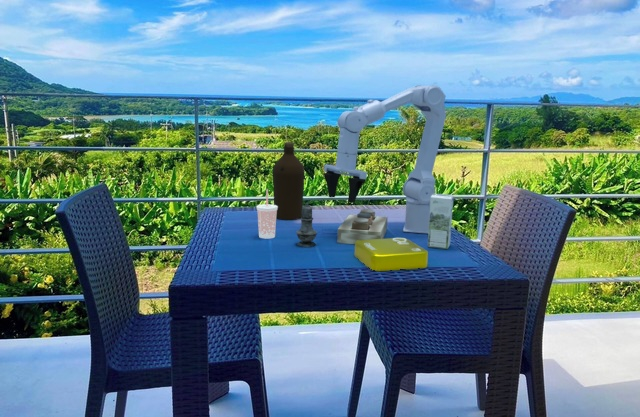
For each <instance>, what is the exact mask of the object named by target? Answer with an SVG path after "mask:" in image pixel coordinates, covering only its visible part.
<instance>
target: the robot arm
mask: <svg viewBox="0 0 640 417" xmlns="http://www.w3.org/2000/svg"><path fill="white" fill-rule="evenodd" d="M445 100H446V94H445V93H444V91H443V90H442V88H441V87H440V86H438V85H435V84H433V85H421V84H419V85H418V84H417V85H414V86H411V87H409V88H406V89H404V90H402V91H400V92H398V93H396V94H394V95H392V96H390V97H387V98H386V99H383V100H382V101H380V100H377V99H368V100H367V101H366V102H367V103H365V104H362V105H360V106H354V107H353V109H352V110H345V111H344V112H342V113H341V114H340V116H339V118H338V119H337V126H338V128H339V136H338V143H337V144H338V146H337V150H336V151H337V152H336V161H335V165H334V164H324V166H323V167H324V168H323V171H324V173H323V177H324V180H325V182H326V183H325V184H326V185H327V186H326V187H327V194H328V198H335V197H336V194H337V190H338V183H339V180H340V177H341V175H343V176H348V178H347V180H348V187H349V188H348V199H347V200H348V203H355V202H356V200H357V198H358V194H359V192H360V190H361V188H362V187H363V185H365V183H366V179H367V176H368V172H367V171H364V170H359V169H356V165H357V160H358V159H357V157H358V150H359V149H358V148H359V142H360V132H362V130H364V128H365V127H367V126H369V125H370V124H373V123H375V122H378V121H379V120H382V119H383V118H384V117H385V115H386V113H387V112H391V110H395V109H397V108H400V107H402V106H405V105H407V104H412V105H413V106H415V108H417V109H418V110H419V111H420V112H422V114H423V115H424V117H425V119H426V120H425V124H424V129H423V131H422V136H421V141H420V144H419V149H418V153H417V157H416V159H415V160H416V161H415V165H414V169H413V170H412V171H410V172H409V174H408V176H407V179H406V180H405V182H404V183H403V186H402V192H403V195H404V196H405V200H406V202H405V217H404V218H405V220H404V221H405V222H404V226H403V229H402V232H405V233H418V234H428V232H429V216H430V199H431V196H432V194H436V187H435V184H436V179H435V177H434V174H433V171H434V170H433V169H434V166H435V162H436V158H437V154H438V150H439V147H440V146H439V145H440V143H441V138H442V134H443V130H444V126H445V122H446V116H447V113H446V106H445V105H446V104H445V102H446V101H445Z"/></svg>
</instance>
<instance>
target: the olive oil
mask: <svg viewBox="0 0 640 417" xmlns="http://www.w3.org/2000/svg"><path fill="white" fill-rule="evenodd" d="M294 144H295V143H294V142H291V141H290V142H288V141H287V142H284V143H283V145H284V146H283V154H282V156H280V158H279V159H278V160H277V161H276V162H275V164H274V165H273V168H272V187H273V205H276V206H278V208H277V214H276V220H277V219H278V220H282V221H283V220H284V221H285V220H286V221H294V220H295V221H296V220H301V219H300V218H301V217H302V207H303V206H304V205H303V204H304V202H303V201H304V189H305V188H304V186H305V175H306V174H305V171H306V170H305V166H304V165H303V163H302V161H301V160H299V159H298V158H297V156H296V155H295V146H294Z"/></svg>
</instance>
